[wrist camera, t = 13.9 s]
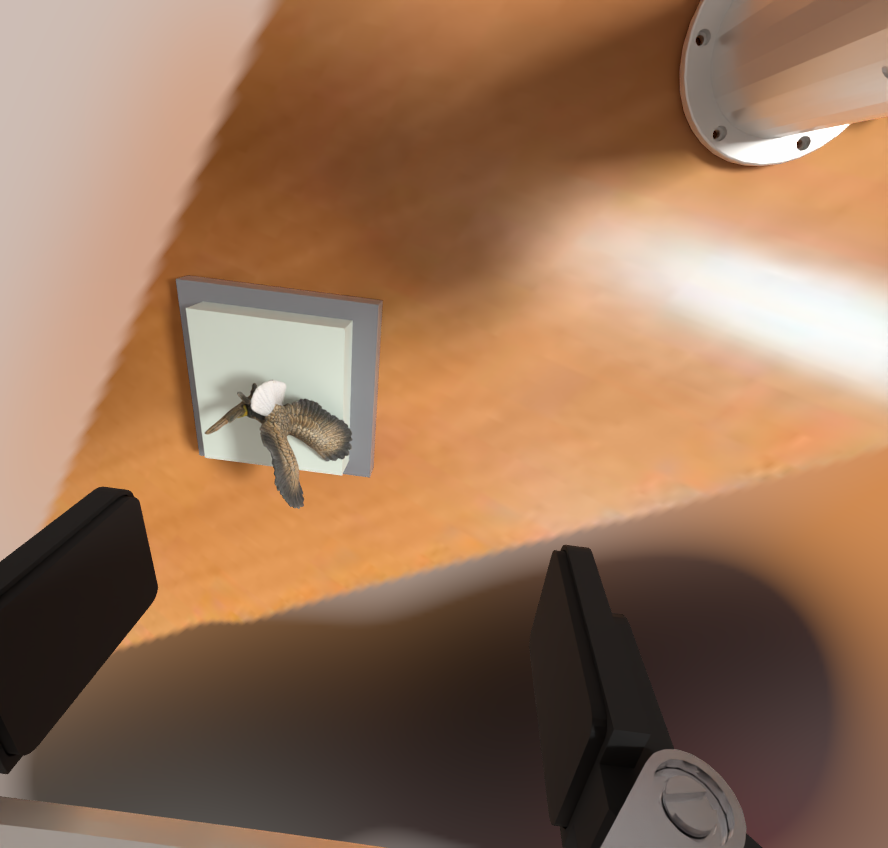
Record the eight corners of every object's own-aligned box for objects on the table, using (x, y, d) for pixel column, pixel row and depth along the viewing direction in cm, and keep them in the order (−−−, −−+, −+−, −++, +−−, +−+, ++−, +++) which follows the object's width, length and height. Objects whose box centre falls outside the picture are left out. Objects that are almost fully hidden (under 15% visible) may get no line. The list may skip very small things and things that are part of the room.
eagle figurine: (218, 435, 38) (300, 509, 39) (188, 428, 31) (289, 518, 32) (286, 370, 40) (364, 442, 41) (272, 350, 33) (367, 437, 34)
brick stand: (384, 298, 39) (372, 311, 34) (374, 463, 46) (364, 492, 41) (193, 274, 39) (156, 284, 34) (213, 442, 46) (184, 469, 42)
